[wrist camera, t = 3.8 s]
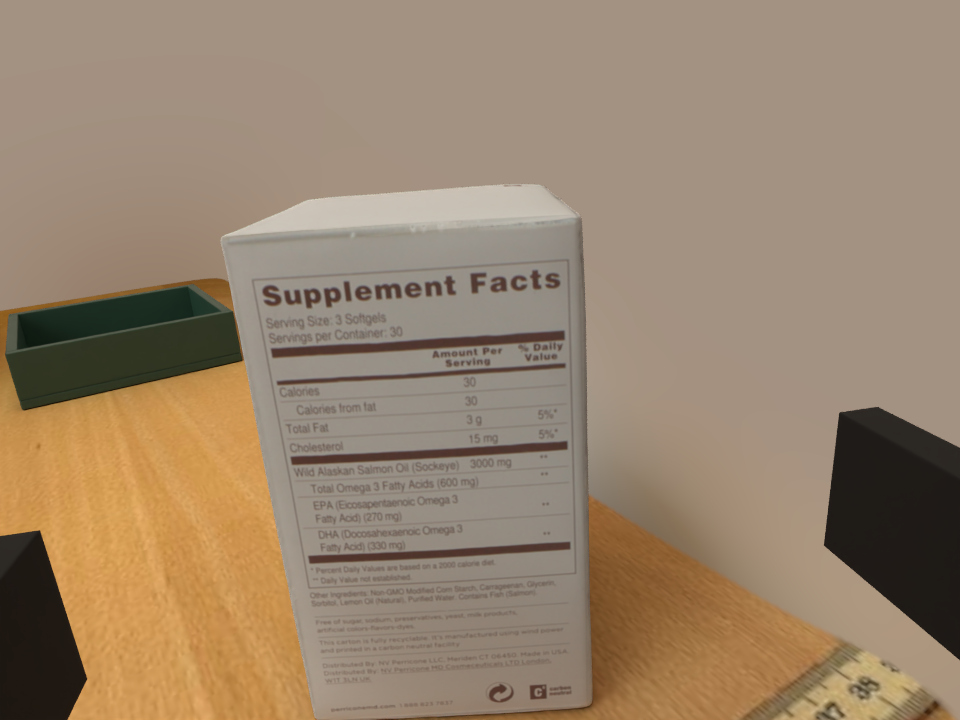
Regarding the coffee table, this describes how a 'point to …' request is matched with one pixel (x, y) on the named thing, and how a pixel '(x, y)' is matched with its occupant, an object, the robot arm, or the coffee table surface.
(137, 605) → the coffee table surface
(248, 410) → the coffee table surface
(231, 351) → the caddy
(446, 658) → the white packaging box
